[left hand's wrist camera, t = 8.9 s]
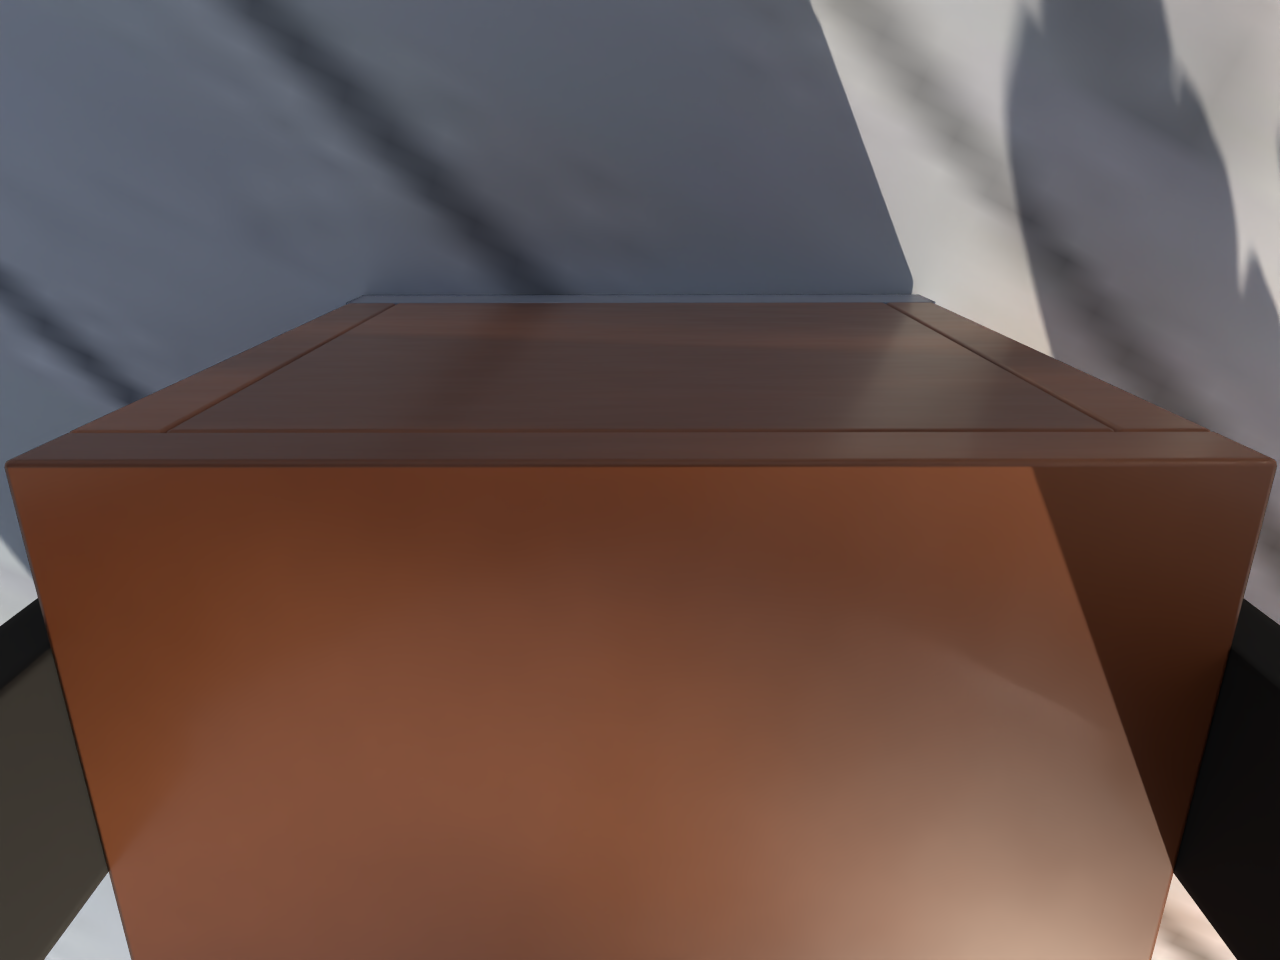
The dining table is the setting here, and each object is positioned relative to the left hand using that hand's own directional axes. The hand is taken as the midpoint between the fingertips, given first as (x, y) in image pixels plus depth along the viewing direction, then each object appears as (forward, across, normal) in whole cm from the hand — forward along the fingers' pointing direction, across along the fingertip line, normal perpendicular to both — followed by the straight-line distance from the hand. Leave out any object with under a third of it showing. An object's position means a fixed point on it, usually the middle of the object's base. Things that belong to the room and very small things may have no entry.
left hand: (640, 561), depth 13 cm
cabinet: (+6, 0, -5) cm, 8 cm away
